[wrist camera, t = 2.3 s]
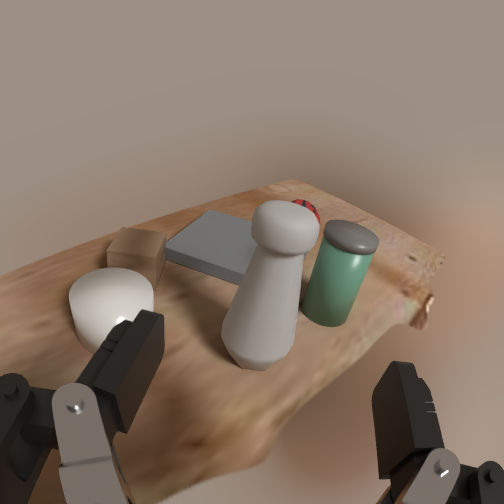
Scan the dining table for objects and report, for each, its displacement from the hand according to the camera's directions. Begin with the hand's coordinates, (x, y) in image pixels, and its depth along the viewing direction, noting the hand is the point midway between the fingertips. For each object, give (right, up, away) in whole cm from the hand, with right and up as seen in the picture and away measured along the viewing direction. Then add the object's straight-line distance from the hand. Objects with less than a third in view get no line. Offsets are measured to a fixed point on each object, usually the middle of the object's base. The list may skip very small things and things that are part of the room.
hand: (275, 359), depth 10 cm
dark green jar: (+7, -3, +22) cm, 24 cm away
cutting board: (-2, +3, +30) cm, 30 cm away
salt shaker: (-1, -5, +16) cm, 17 cm away
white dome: (-13, -3, +15) cm, 20 cm away
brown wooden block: (-13, +1, +22) cm, 26 cm away
